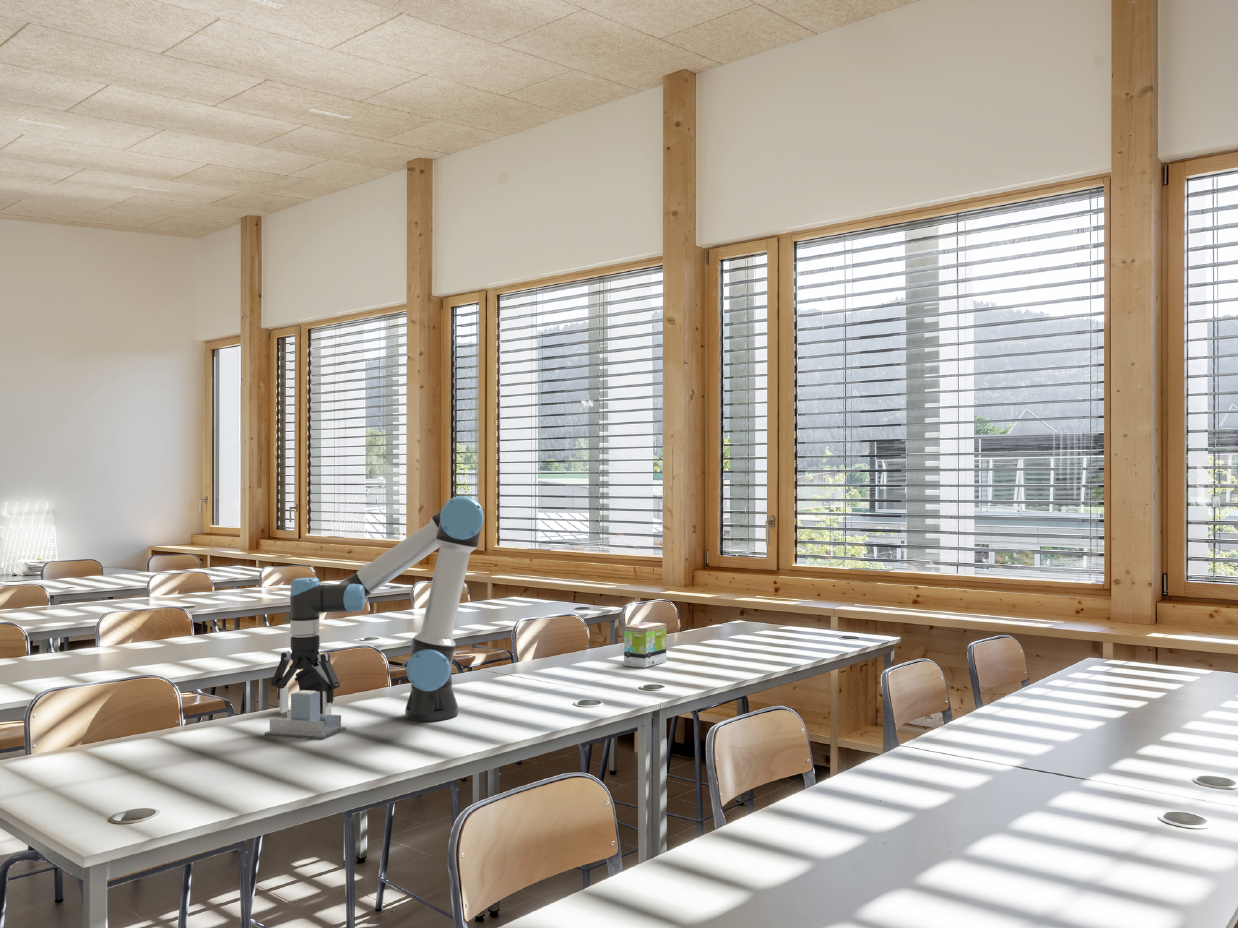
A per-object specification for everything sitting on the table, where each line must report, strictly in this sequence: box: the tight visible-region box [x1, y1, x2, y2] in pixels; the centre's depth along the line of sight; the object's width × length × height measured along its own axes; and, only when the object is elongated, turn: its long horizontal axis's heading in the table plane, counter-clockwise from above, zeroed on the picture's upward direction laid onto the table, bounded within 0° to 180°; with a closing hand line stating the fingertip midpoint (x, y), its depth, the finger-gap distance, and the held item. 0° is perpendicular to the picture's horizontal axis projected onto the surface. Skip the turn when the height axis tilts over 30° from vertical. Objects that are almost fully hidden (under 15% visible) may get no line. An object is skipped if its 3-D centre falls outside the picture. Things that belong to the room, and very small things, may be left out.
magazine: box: [294, 660, 333, 714], centre depth 288 cm, size 4×13×15 cm, turn 54°
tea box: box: [623, 621, 667, 669], centre depth 358 cm, size 15×10×15 cm, turn 147°
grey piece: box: [264, 711, 347, 741], centre depth 262 cm, size 18×11×4 cm, turn 73°
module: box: [290, 690, 320, 721], centre depth 262 cm, size 6×4×9 cm
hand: (305, 713), depth 262 cm, fingers open, 13 cm apart
